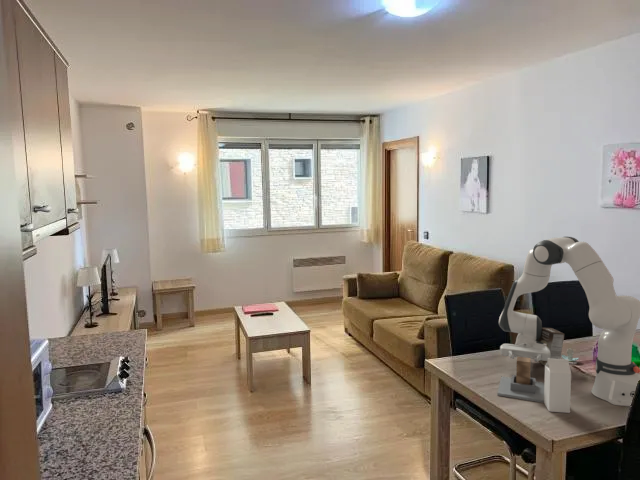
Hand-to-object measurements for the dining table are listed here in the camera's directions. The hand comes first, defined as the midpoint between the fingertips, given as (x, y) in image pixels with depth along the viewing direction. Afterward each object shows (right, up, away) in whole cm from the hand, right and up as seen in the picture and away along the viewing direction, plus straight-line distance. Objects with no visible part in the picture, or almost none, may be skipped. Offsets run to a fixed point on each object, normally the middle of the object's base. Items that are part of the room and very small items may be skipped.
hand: (524, 358), depth 199 cm
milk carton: (+1, -13, -24) cm, 27 cm away
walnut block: (-4, -10, -8) cm, 14 cm away
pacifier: (+30, -7, +21) cm, 37 cm away
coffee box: (+18, -7, +17) cm, 26 cm away
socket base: (-4, -11, -8) cm, 14 cm away
